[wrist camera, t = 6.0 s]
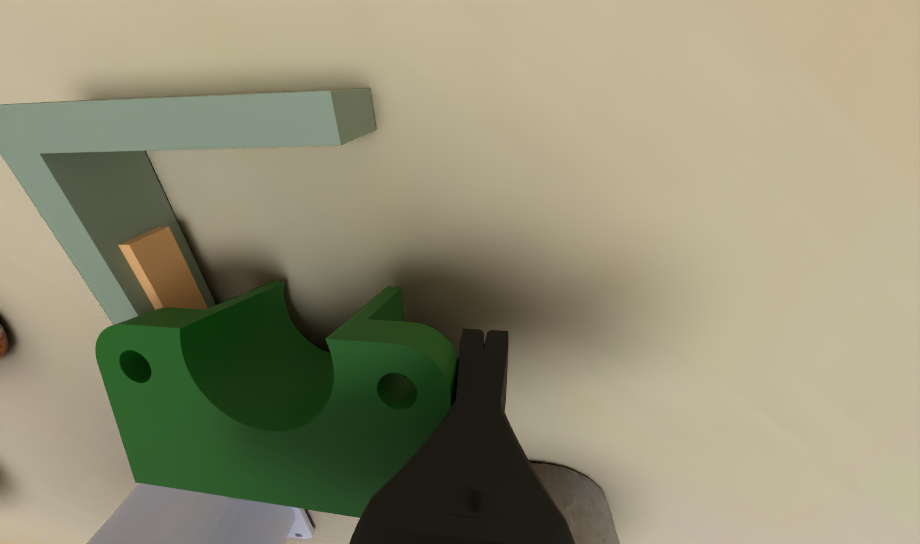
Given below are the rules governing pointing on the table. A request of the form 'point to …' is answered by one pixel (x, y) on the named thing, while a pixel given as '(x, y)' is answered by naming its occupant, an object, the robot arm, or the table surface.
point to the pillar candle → (579, 504)
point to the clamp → (276, 399)
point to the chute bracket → (150, 177)
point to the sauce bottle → (3, 342)
